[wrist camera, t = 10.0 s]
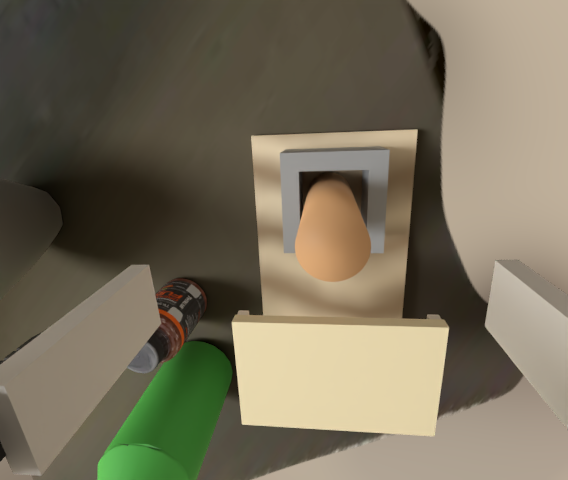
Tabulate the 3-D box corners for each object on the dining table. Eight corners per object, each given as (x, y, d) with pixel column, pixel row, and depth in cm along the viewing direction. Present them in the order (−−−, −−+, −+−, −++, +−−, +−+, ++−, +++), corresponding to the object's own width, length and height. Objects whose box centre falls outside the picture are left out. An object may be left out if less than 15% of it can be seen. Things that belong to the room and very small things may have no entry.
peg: (307, 173, 34) (293, 211, 19) (351, 172, 34) (372, 210, 19) (308, 215, 36) (296, 281, 21) (350, 214, 35) (369, 282, 20)
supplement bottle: (196, 270, 41) (151, 322, 30) (215, 312, 42) (179, 375, 32) (154, 283, 42) (96, 337, 31) (174, 323, 43) (126, 388, 33)
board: (253, 135, 35) (251, 135, 34) (414, 129, 33) (417, 129, 32) (265, 321, 42) (264, 326, 41) (398, 324, 40) (401, 330, 39)
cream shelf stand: (263, 253, 38) (231, 322, 24) (402, 253, 36) (449, 327, 23) (268, 327, 41) (242, 424, 27) (396, 330, 39) (434, 436, 26)
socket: (285, 149, 34) (279, 153, 29) (379, 146, 33) (389, 149, 28) (288, 236, 37) (283, 253, 32) (375, 236, 36) (383, 253, 31)
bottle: (158, 364, 46) (-15, 616, 22) (194, 324, 43) (39, 564, 20) (209, 401, 47) (96, 679, 23) (247, 365, 44) (162, 637, 21)
